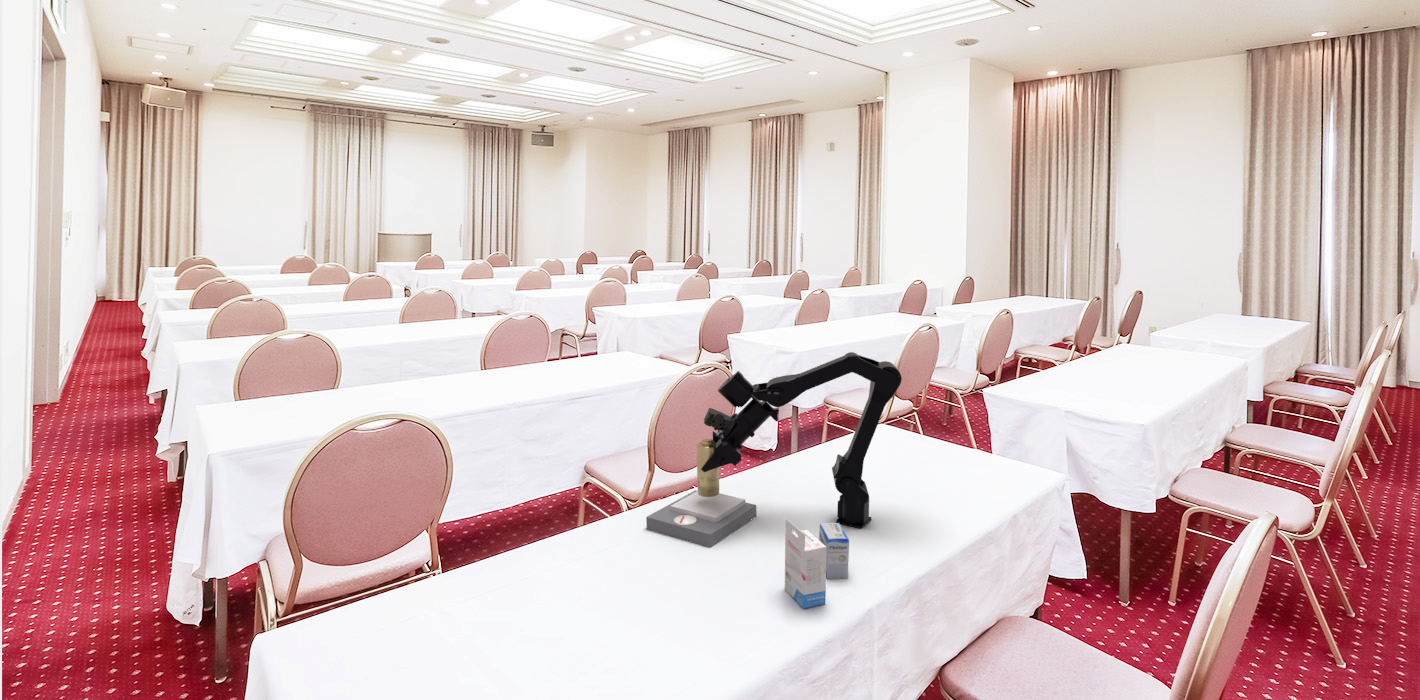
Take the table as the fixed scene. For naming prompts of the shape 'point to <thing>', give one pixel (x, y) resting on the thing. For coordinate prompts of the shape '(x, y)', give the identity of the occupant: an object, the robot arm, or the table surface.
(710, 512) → the scale
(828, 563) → the medicine box
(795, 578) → the ink box
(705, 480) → the brass weight
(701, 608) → the table surface
